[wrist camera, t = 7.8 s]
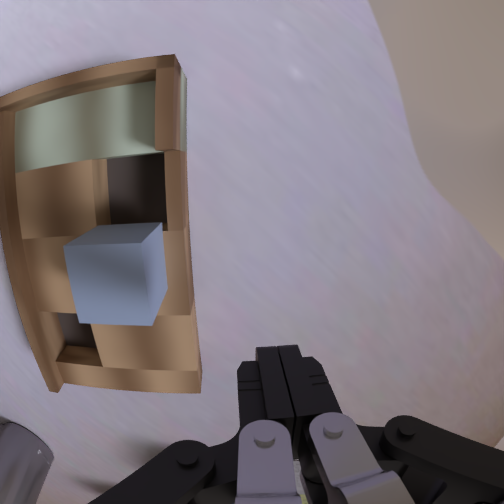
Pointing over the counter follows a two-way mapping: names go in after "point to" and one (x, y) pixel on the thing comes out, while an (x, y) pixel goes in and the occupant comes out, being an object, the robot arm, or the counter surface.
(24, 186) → the board
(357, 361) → the counter surface
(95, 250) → the block
